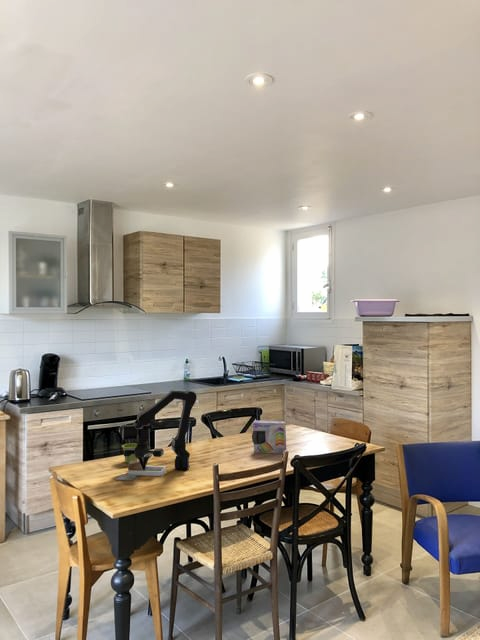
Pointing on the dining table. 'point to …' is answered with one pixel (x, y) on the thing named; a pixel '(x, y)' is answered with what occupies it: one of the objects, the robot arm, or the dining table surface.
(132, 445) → the plant pot
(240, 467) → the dining table surface
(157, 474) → the channel
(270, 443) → the cake pan box
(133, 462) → the walnut block
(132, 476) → the slate coaster
